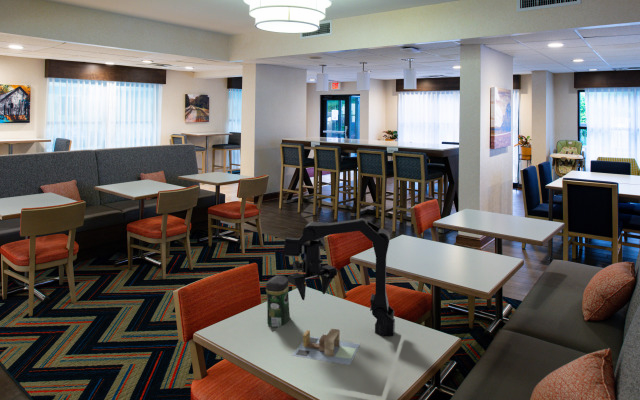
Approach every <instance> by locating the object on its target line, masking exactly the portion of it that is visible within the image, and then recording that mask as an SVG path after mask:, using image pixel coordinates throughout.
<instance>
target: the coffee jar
mask: <svg viewBox="0 0 640 400" xmlns="http://www.w3.org/2000/svg"><path fill="white" fill-rule="evenodd" d="M289 286H290V283H289V282H288V277H287V276H285V275H275V276H273V277H271V278H270V279H268V280H267V281H266V283H265V292H266V305H267V306H266V307H267V308H266V309H267V310H266V311H267V316H266V317H267V318H266V319H267V323H266V324H267V325H268V326H270V327H271V328H276V329H278V328H279V326H280V327H281V326H284V325H286V324H287V323H288V322H289V320H290V319H291V317H290V316H291V314H290V301H289V299H290V298H289V288H290V287H289Z"/></svg>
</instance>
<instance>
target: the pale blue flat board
mask: <svg viewBox="0 0 640 400" xmlns="http://www.w3.org/2000/svg"><path fill="white" fill-rule="evenodd" d="M320 338H321V337H315V336H310V343H317V344H319V339H320ZM360 344H361V343H356V342H348V341H341V340H340V346H339V347H336V346H334V356H333V357H331V356H325V352H324V351H319V349H315V348H309V347H304V346H303V340H302V341H301V342H300V344H299V345H298V347H297V348H296V349H295V351H294V352H293V353H292V356H294V357H300V358H306V359H310V360H311V359H312V360H318V361H324V362H329V363H336V364H341V365H347V366H350V365H351V363H352V361H353V359H354V358H355V355H356V353H357V352H358V349H359V347H360Z"/></svg>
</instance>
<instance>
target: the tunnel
mask: <svg viewBox="0 0 640 400" xmlns="http://www.w3.org/2000/svg"><path fill="white" fill-rule="evenodd" d="M340 331H341V330H340V329H339V328H338V329H337V328H330V330H329V331H328V333H327V334H326V335H327V336H326V337H325V339H324V344H325V356H331V357H333V356H334V346H336V347H339V346H340V341H341V340H340V338H341V337H340V334H341V332H340Z"/></svg>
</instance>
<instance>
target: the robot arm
mask: <svg viewBox="0 0 640 400" xmlns="http://www.w3.org/2000/svg"><path fill="white" fill-rule="evenodd" d="M355 232H360V233H361V234H362V235H363V236H364V237H366V238H367V239H368V240H369V241H371V242H372V244H373V250H374V255H375V292H374V293H375V294H374V293H371V295H370V296H371V297H370V308H369V311H370V312H371V314H372V316H373V317H374V318H375V319H376V321H375V323H374V333H375V334H377V335H379V336H382V337H386V338H387V337H394V335H395V333H396V332H395V331H396V329H395V328H396V319H395V310H394V308H393V307H392V306H390V305H389V298H388V294H387V254H388V249H389V244H390V239H391V234H390V232H389V231H388V230H386V229H384V228H380V227H379V226H378V225H376V224H374V223H372V222H371V221H369V220H367V219H366V218H364V217H360V218H357V219H350V220H342V221H335V222H320V221H310V222H309V223H307V225H306V226H305V227H304V228H303V230H302V235H301V236H300V237H299V238H297V237H295V238H294V237H286V238H285V239H284V246H283V255H284V257H301V255H302V254H303V255H304V258H302V262H301V261H300V260H296V261H292V269H293V270H294V271H296V270H297V272H295V273H291V274H289V275H288V276H287V279H288V284H291V285H293V286H295V287H296V288H297V290H298V293H299V296H300V298H301V300H302V301H305V300H306V299H305V298H306V288H307V287H306V286H307V285H306V284H305V283H306V280H309V279H312V278H313V279H314V278H316V277H319V276H320V277H321V291H322V292H321V293H322V294H323V295H326V292H327V291H328V288H329V287H330V284H331V282H332V281H333V279H335V276H338V269H337V268H336V267H335V266H332V265H330V264H326V265H322V266H321V264H323V259H321V247H325V245H326V241H324V240H323V238H324V237H326V236H327V237H328V236H332V235H339V234H347V233H355ZM299 272H301V273H303V274H301V273H299Z"/></svg>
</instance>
